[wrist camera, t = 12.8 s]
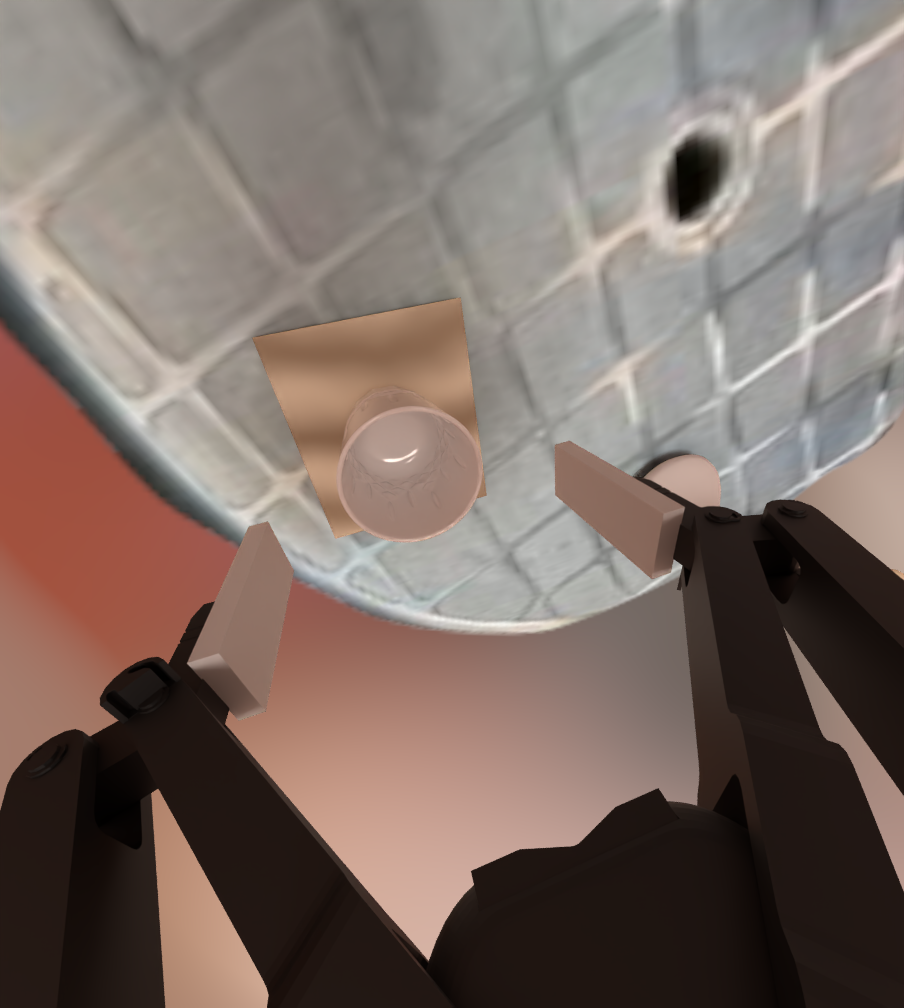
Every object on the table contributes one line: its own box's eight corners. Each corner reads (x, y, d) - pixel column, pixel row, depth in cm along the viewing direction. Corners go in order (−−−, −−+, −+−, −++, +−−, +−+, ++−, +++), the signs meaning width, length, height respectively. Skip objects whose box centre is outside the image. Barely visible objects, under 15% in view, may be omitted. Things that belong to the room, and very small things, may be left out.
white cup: (330, 465, 27) (323, 533, 19) (350, 362, 24) (353, 386, 16) (425, 484, 30) (457, 550, 22) (453, 394, 27) (503, 428, 19)
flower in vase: (718, 452, 39) (1159, 610, 18) (676, 538, 44) (983, 741, 23) (625, 445, 35) (1047, 635, 14) (590, 540, 40) (864, 787, 19)
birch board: (256, 336, 23) (252, 337, 22) (455, 298, 25) (460, 297, 24) (335, 531, 31) (335, 538, 30) (482, 489, 33) (486, 495, 32)
